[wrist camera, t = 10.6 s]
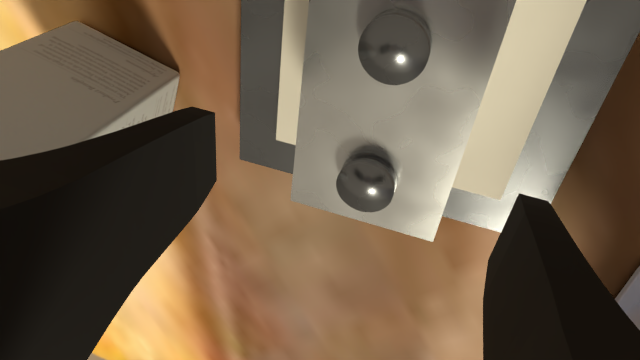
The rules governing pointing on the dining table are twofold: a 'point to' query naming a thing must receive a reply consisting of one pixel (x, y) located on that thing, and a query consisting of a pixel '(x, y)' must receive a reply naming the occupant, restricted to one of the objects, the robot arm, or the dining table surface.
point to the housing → (391, 105)
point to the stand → (496, 106)
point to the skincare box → (76, 89)
